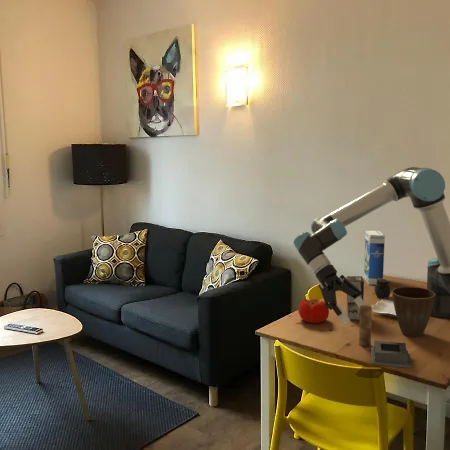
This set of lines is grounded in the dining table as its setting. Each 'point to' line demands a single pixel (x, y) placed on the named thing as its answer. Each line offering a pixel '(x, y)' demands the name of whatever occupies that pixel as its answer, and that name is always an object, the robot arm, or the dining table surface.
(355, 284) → the coffee box
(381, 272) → the string lights box
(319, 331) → the dining table surface
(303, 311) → the tomato
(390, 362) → the grey square socket base
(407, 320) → the plant pot
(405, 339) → the dining table surface
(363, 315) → the brown wooden cylinder
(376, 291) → the mate gourd
